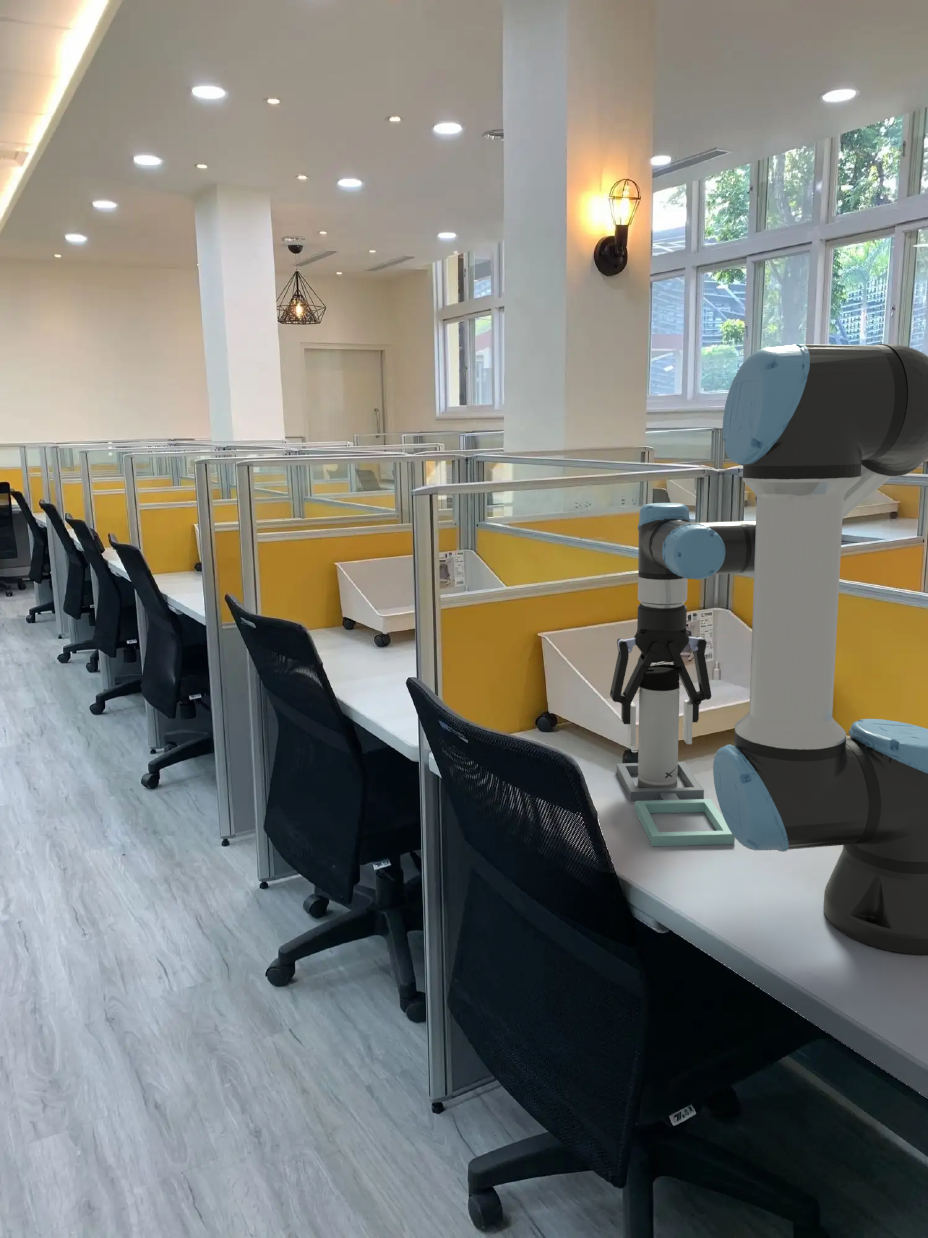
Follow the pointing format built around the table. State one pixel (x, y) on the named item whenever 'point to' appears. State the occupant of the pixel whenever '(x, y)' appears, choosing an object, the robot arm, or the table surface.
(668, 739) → the travel mug
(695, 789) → the frame
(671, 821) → the table surface
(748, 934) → the table surface
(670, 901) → the table surface
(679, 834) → the frame
